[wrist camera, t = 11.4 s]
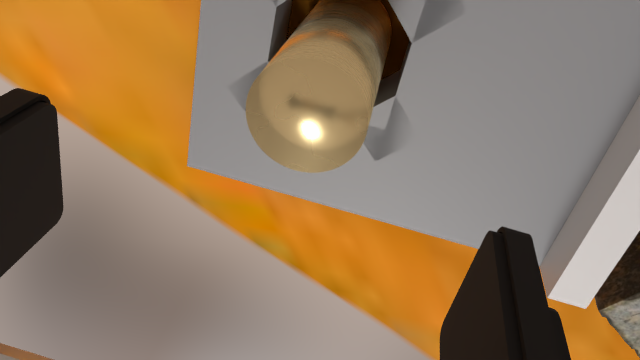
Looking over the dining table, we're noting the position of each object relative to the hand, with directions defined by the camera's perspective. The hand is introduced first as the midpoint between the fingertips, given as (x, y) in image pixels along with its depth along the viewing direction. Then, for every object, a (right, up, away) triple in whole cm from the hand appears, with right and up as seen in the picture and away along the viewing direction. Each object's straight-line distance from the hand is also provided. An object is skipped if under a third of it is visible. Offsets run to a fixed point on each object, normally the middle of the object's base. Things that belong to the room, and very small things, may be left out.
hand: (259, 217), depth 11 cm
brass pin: (+3, +7, +12) cm, 14 cm away
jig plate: (+6, +6, +12) cm, 14 cm away
